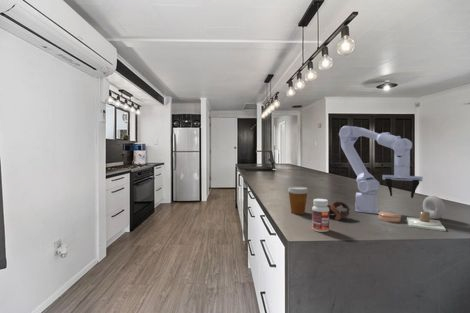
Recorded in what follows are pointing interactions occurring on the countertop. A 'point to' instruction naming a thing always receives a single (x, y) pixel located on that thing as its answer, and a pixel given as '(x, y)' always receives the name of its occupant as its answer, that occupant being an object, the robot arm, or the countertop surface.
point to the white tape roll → (438, 207)
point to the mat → (411, 224)
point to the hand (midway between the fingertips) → (401, 196)
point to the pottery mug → (335, 211)
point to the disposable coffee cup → (298, 199)
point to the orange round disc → (389, 216)
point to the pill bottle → (320, 215)
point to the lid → (425, 219)
